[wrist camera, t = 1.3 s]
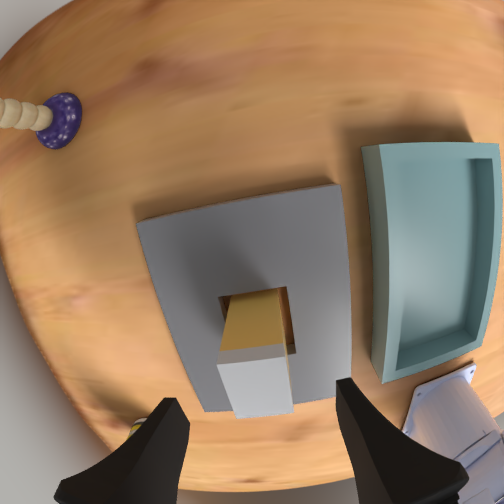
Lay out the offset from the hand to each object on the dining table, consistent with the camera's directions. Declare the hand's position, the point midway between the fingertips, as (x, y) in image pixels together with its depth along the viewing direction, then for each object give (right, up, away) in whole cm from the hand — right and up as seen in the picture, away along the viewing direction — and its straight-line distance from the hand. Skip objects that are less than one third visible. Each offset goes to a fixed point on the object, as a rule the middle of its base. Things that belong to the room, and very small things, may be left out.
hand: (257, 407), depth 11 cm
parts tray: (+13, +6, +6) cm, 15 cm away
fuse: (0, +2, +8) cm, 8 cm away
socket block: (0, +2, +8) cm, 8 cm away
